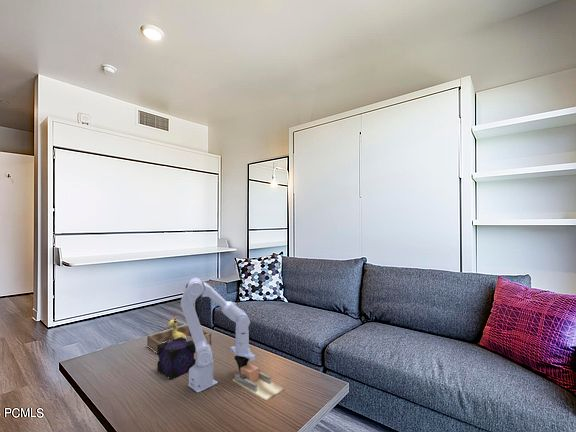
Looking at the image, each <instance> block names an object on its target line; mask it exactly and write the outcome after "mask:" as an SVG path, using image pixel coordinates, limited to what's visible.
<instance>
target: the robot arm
mask: <svg viewBox="0 0 576 432" xmlns="http://www.w3.org/2000/svg"><path fill="white" fill-rule="evenodd" d="M200 296H201V297H202V298H205V297H206V298H209V299H210V300H212V301H213V302H214V303H215V304H217V305H218V306H219V307H221V312H222V314H223V315H225V317H227V318H228V319H230V320H231V321H232V322H234V324H235V331H234V332H235V345H233V346H230V347H229V349H230V351H229V352H230V353H234V354H235V356H234V358H233V359H234V360H235V362H236V364H237V368H238V371H239V373H240V374H241V367H243V366H245V365H247V364H249V361H250V362H253V361H255V360H256V354H254V353H253V352H251V348H250V339H249V338H250V337H249V336H250V335H249V333H250V332H249V331H250V330H249V326H250V324H251V321H250V317H249V316H248V315H247V313H246V311H244V310H243V309H240V307H238V306H237V303H236V302H235V301H230V300H229V301H227V300H226V299H224V298H223V297H222V295H220V293H219V292H217V291H216V290H215V289H214V288H213V287H212V286H211V285H209V284H208V283H207V282H206V281H203V280H202V279H201V278H199V277H191V278H190V279H189V280H188V281H187V283H186V284H185V285H184V290H183V293H182V296H181V300H180V307H181V309H182V312H183V316H184V318H185V322H186V325H188V327H189V330H190V333H191V336H190V337H192V338H193V341H194V344H195V348H196V353H195V354H196V359H195V360H196V362H195V365H194V366H192V367H191V368H190V369H189V372H188V384H187V387H189V388H190V389H192V390H193V391H195V392H196V393H200V392H203V391H204V390H206V389H209V388H211V387H212V386H215V385H217V384H218V381H217V380H215V379H214V355H213V353H212V346H211V345H210V344H209V343H207V341H206V339H205V337H204V334H203V331H202V330H203V329H202V325H201V322H200V319H199V316H198V314H197V310H196V309H195V305H194V304H195V303H196V300H197V299H198V298H199V297H200Z"/></svg>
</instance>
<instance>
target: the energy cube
mask: <svg viewBox="0 0 576 432" xmlns="http://www.w3.org/2000/svg"><path fill="white" fill-rule="evenodd" d="M156 354H157V356H158V361H156V362H157V364H156V365H157V367H156V368H157V370H158V371H159V372H161V373H164V374H163V375H165V377H166V376H167V377H169V378H170V379H172V380H174V379H173V378H175V379H177V378H179V377H181V376H180V375H182V374H184V373H186V372H188V373H189V369H190V368H191V367H192V366H194V365H195V362H196V360H197V359H195V354H197V353H196V348H195V344H194V342H192V341H189V342H188V341H186V339H185V338H183V337H180V338H177V339H174V340H173V341H172V342H169V343H167V342H165V343H162V344H159V345H157V353H156ZM157 370H156V371H157ZM158 371H157V372H158ZM159 372H158V373H159ZM161 373H160V374H161ZM178 376H179V377H178ZM167 377H166V378H167ZM176 377H177V378H176ZM169 378H168V379H169ZM170 379H169V380H170Z"/></svg>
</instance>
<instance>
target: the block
mask: <svg viewBox="0 0 576 432" xmlns="http://www.w3.org/2000/svg"><path fill="white" fill-rule="evenodd" d="M259 370H260V369H259V367H258V366H256V365H254V364H253V363H252V364H251V363H249V362H248V363H247V365H245V366H243V367H241V373H240V375H241V374H242V375H244V376H246V378H247V379H249V380H250V381H252V382H256V381H258V380H259Z"/></svg>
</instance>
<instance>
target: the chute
mask: <svg viewBox="0 0 576 432" xmlns="http://www.w3.org/2000/svg"><path fill="white" fill-rule="evenodd" d="M231 382H233V383H234V384H237V385H238V386H240V387H242V388H243V389H244V390H246V391H248V392H249V393H251V394H254V395H255V396H257V397H259V398H260V399H262V400H264V401H266V402H268V401H269V400H270V399H272V398H274V397H275V396H277V395H279V394H280V393H282V392H283V391H285V387H283V386H281V385H279V384H277V383H276V382H273V381H272V376H270V375H268V374H266V373H264V372H263V371H261V370H260V369H259V380H258V381H256V382H252V381H250V380H249V379H247V378H246V376H244V375H242V374H241V373H240V374H239V373H235V374H234V378H233V379H232V380H231Z"/></svg>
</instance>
